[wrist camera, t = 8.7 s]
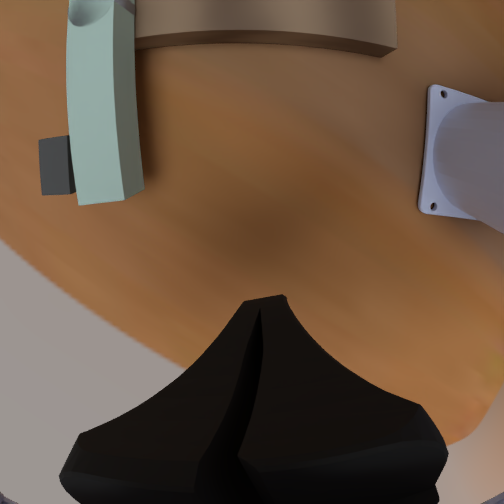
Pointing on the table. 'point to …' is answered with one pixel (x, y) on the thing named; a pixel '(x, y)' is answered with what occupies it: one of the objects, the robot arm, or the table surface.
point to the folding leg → (103, 100)
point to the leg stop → (56, 166)
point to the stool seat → (269, 23)
